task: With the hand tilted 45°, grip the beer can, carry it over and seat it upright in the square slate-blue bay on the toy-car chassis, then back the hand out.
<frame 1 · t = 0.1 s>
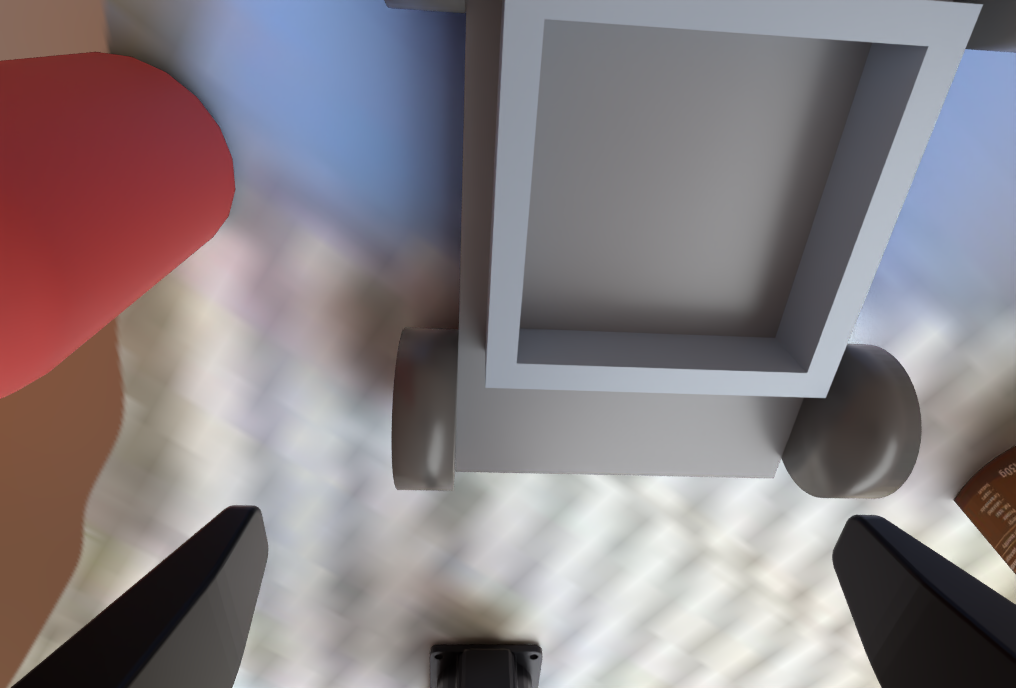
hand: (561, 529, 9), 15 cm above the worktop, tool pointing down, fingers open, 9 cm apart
chassis: (657, 185, 21), on the worktop
beer can: (145, 156, 20), on the worktop
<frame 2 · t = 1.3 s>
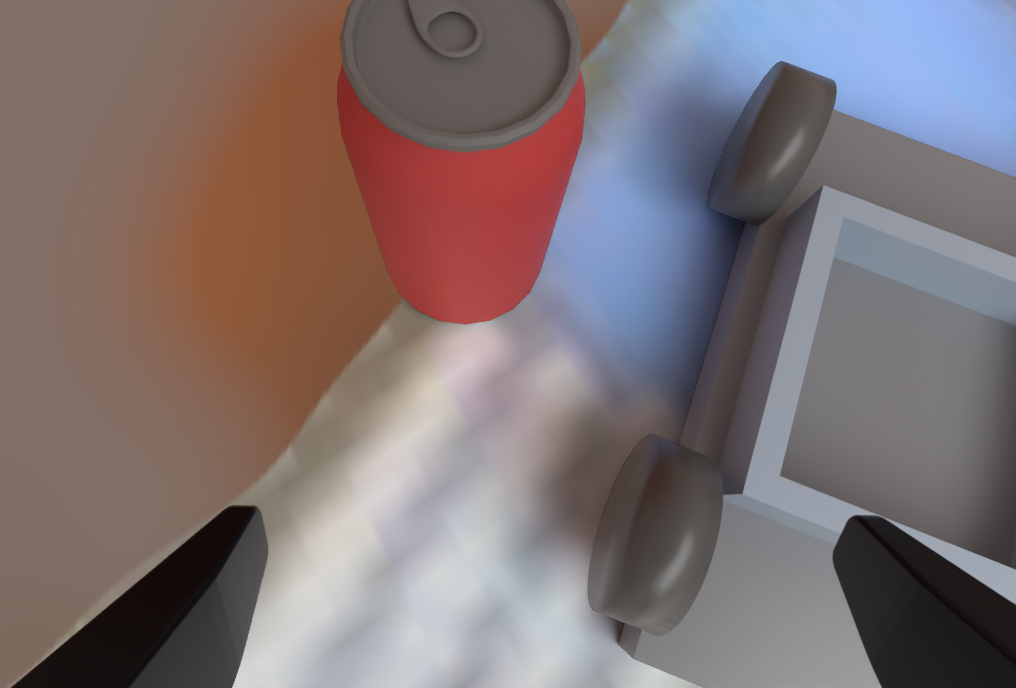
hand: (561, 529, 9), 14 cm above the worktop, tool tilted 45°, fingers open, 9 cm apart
chassis: (865, 411, 24), on the worktop
beer can: (464, 257, 25), on the worktop
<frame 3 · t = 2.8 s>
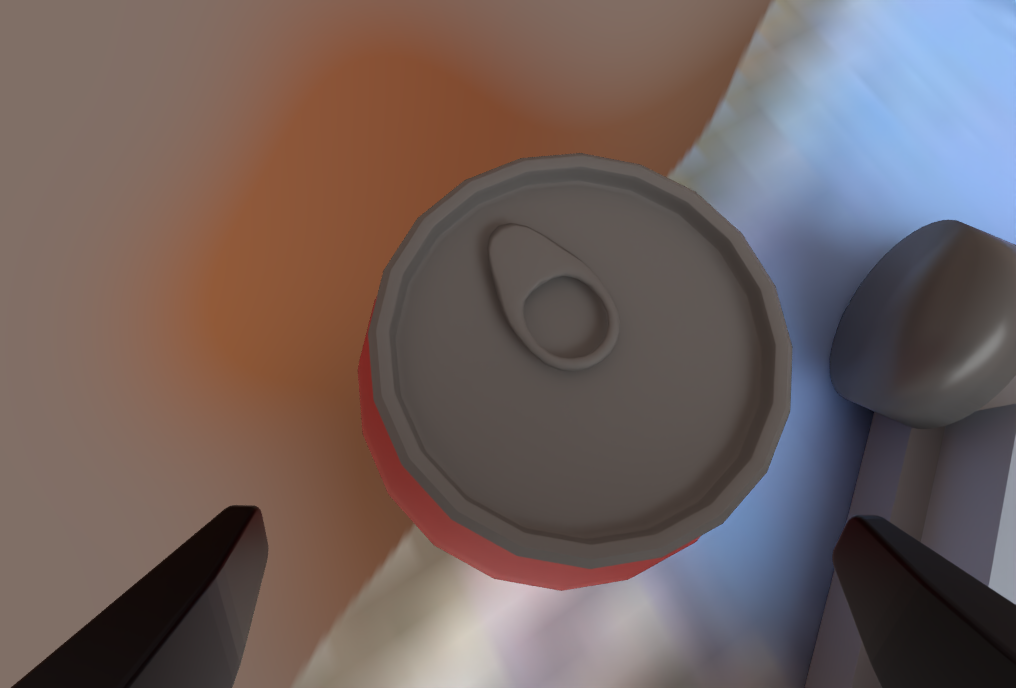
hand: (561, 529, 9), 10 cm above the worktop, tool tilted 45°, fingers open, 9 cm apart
beer can: (512, 441, 19), on the worktop
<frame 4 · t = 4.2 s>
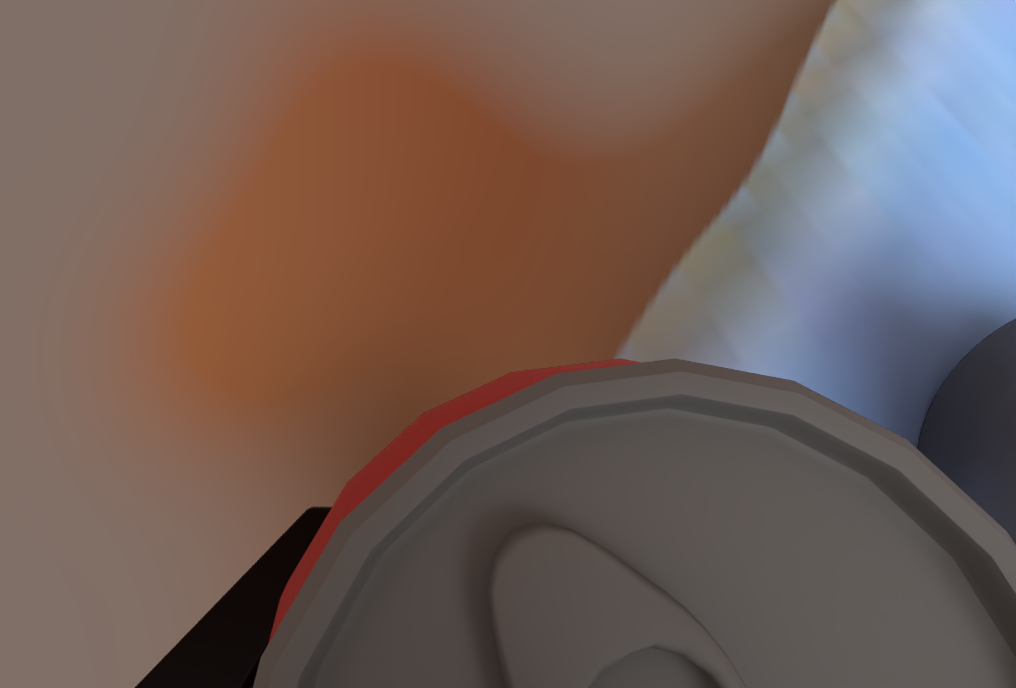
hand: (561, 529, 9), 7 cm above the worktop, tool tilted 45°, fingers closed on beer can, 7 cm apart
beer can: (520, 574, 15), on the worktop, touching gripper
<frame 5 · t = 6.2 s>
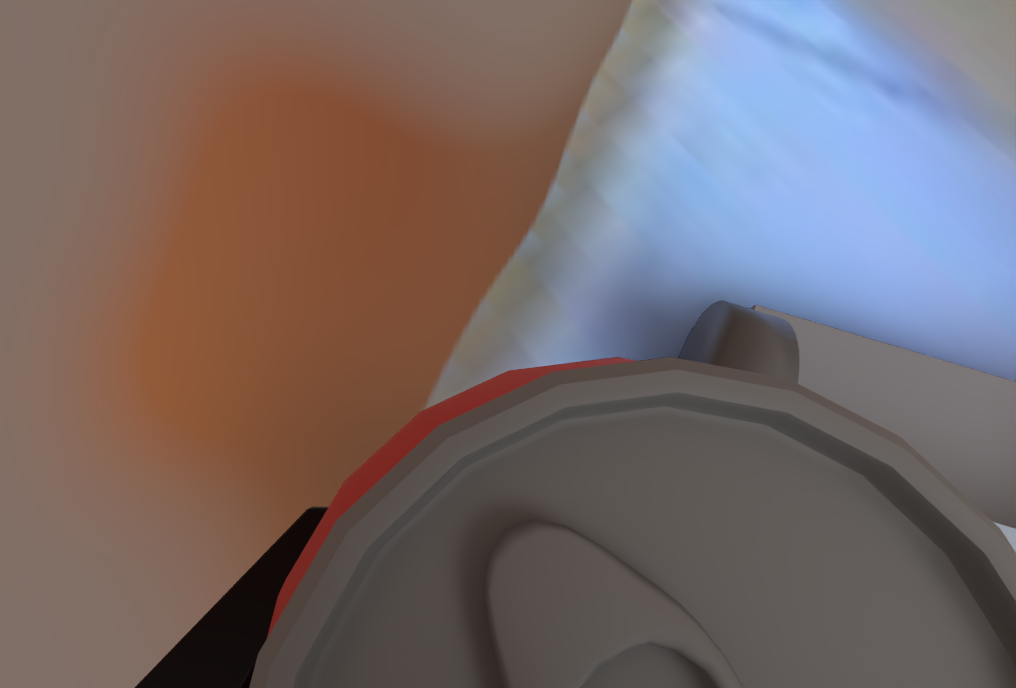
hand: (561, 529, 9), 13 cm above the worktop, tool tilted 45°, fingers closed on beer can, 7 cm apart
chassis: (859, 678, 21), on the worktop
beer can: (518, 572, 15), point 6 cm above the worktop, touching gripper
when the fingers open (10 cm above the worktop, at t = 8.5 s): beer can drops 1 cm, resting on chassis.
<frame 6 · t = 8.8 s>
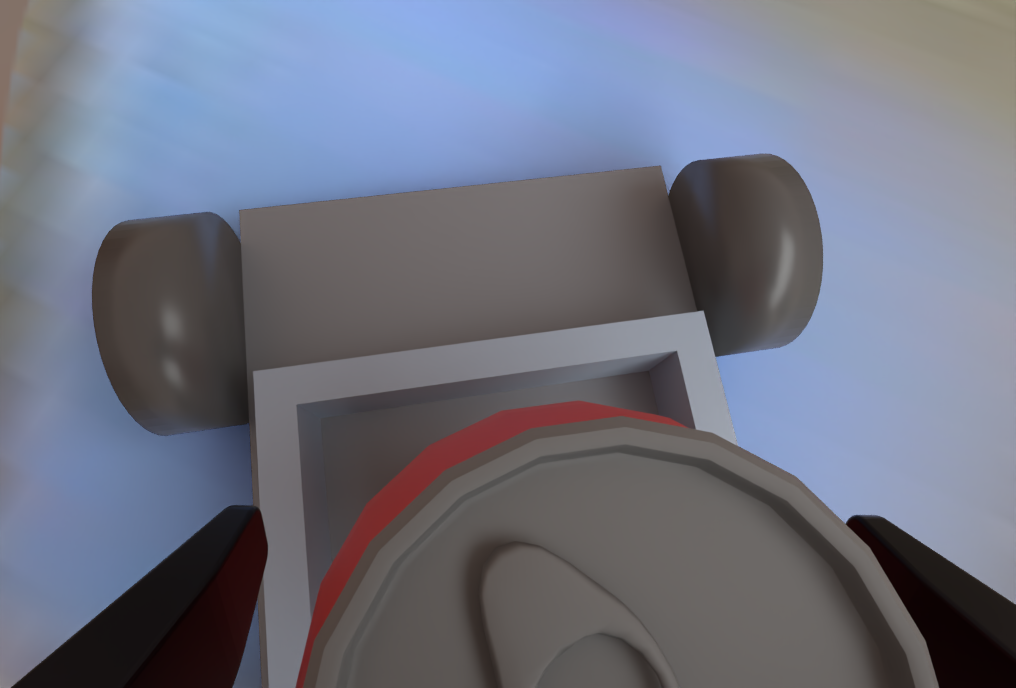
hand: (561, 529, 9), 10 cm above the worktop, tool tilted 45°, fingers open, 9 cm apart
chassis: (511, 561, 18), on the worktop
beer can: (515, 574, 16), point 2 cm above the worktop, touching chassis
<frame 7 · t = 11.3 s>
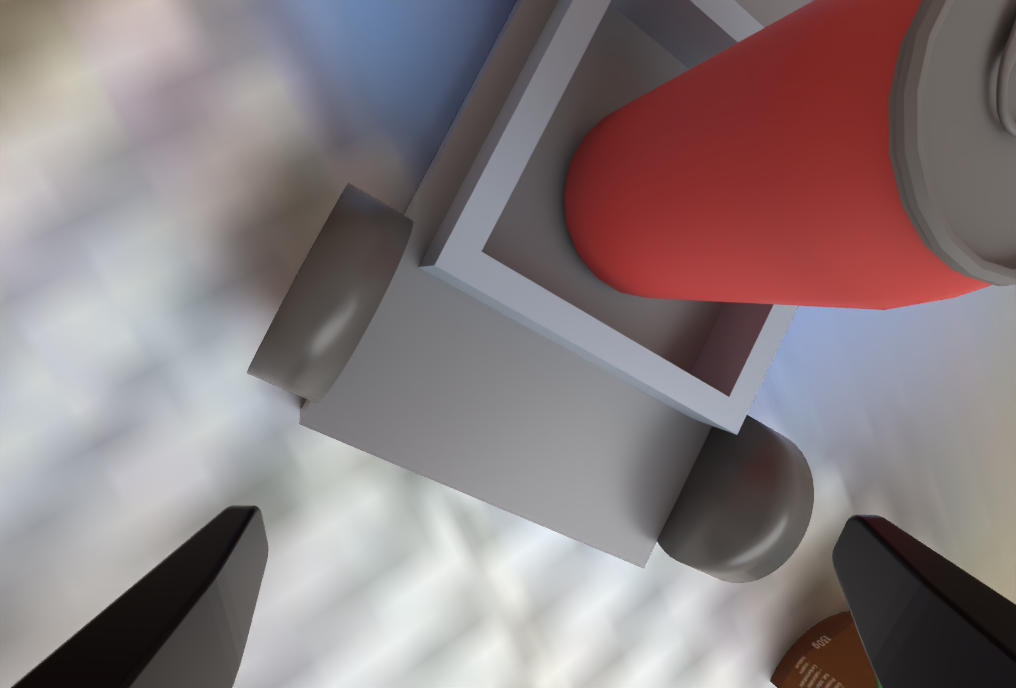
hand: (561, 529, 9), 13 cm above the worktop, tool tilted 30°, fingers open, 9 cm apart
food container: (854, 646, 30), on the worktop
chassis: (615, 208, 23), on the worktop
beer can: (637, 205, 21), point 2 cm above the worktop, touching chassis
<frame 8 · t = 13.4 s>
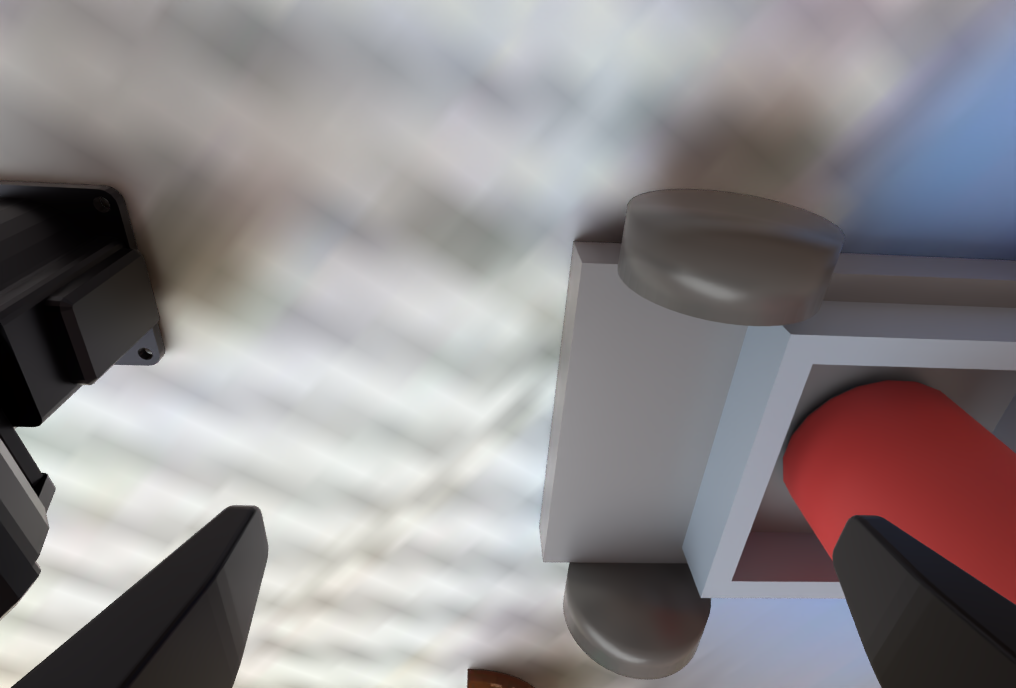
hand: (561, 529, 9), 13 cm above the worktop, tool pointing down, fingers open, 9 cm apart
chassis: (836, 412, 24), on the worktop
beer can: (856, 438, 23), point 2 cm above the worktop, touching chassis
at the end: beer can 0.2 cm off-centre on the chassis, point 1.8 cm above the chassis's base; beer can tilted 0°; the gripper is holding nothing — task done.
